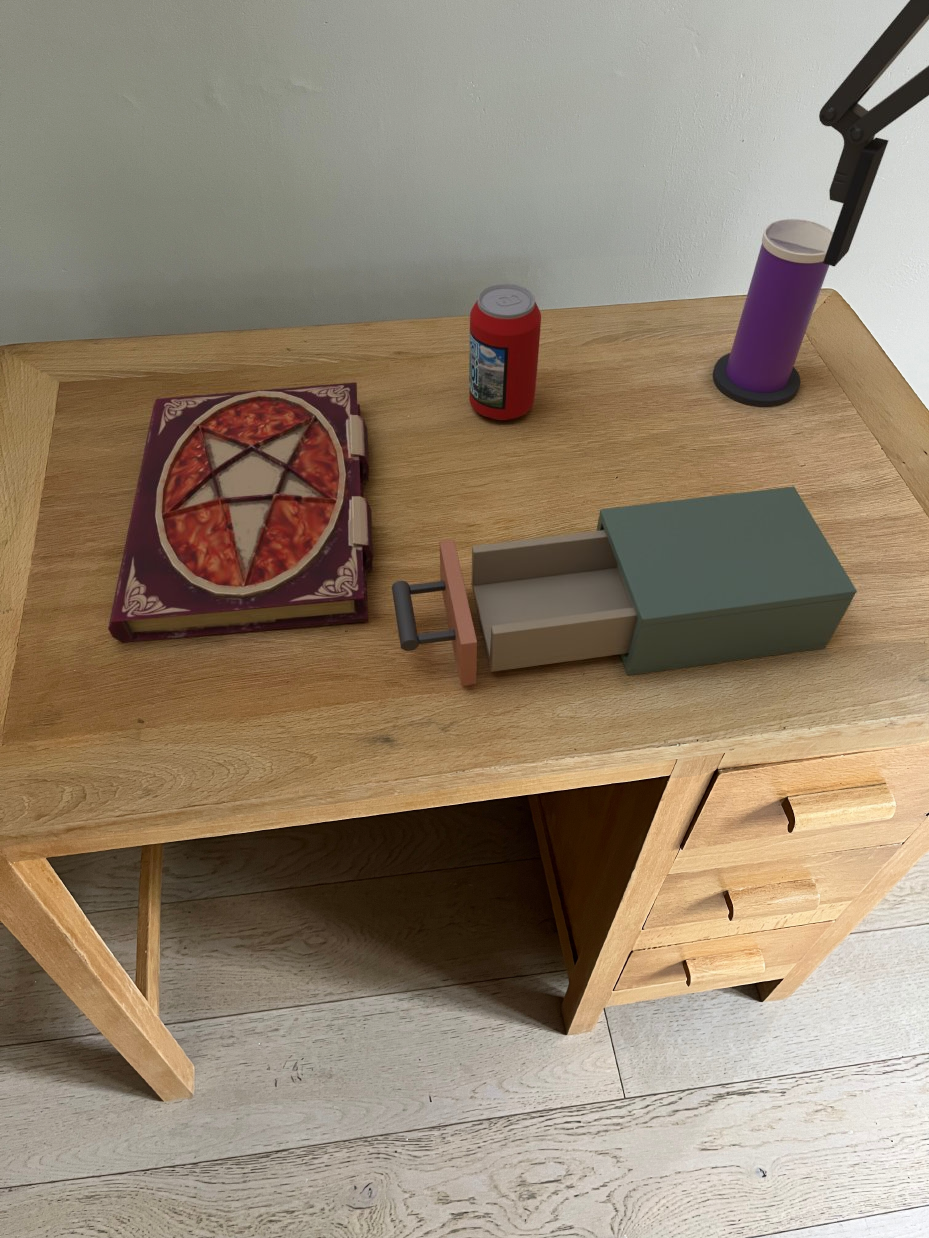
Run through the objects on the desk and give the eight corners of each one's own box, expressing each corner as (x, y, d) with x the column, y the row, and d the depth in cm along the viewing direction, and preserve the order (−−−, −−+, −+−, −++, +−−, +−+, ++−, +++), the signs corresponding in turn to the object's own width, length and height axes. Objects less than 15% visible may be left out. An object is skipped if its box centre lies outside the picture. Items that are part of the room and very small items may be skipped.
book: (160, 425, 87) (145, 384, 83) (367, 408, 88) (362, 367, 84) (118, 647, 70) (96, 608, 66) (377, 623, 71) (371, 583, 67)
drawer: (406, 693, 65) (402, 652, 61) (390, 591, 72) (386, 547, 67) (655, 659, 67) (668, 616, 63) (618, 562, 74) (627, 518, 70)
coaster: (810, 374, 92) (813, 368, 92) (779, 417, 88) (781, 411, 87) (732, 346, 95) (734, 340, 95) (698, 387, 91) (700, 380, 90)
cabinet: (627, 675, 67) (642, 619, 62) (589, 567, 75) (600, 508, 69) (825, 648, 69) (857, 591, 64) (770, 545, 76) (794, 486, 71)
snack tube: (801, 387, 90) (852, 249, 78) (743, 398, 88) (786, 259, 77) (770, 351, 94) (814, 215, 82) (714, 361, 92) (751, 224, 81)
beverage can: (459, 393, 90) (458, 287, 80) (517, 379, 91) (524, 274, 82) (483, 432, 86) (486, 325, 77) (544, 416, 88) (555, 310, 78)
